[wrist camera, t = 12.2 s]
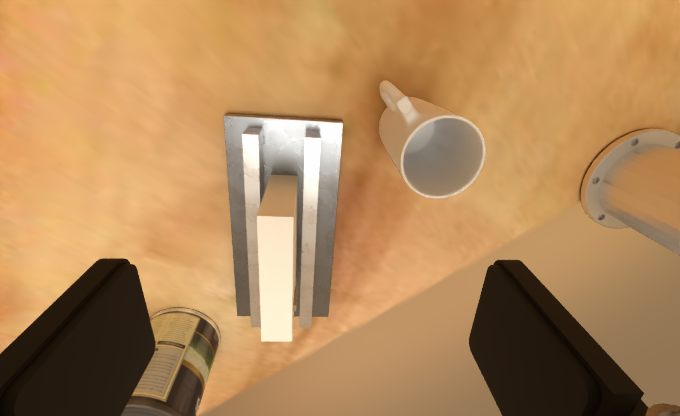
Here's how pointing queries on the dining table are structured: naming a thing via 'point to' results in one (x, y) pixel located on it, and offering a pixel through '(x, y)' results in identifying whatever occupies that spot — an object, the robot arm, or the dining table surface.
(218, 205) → the dining table surface
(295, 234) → the door panel
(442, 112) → the mug
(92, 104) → the dining table surface
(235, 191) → the door track
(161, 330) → the coffee can
